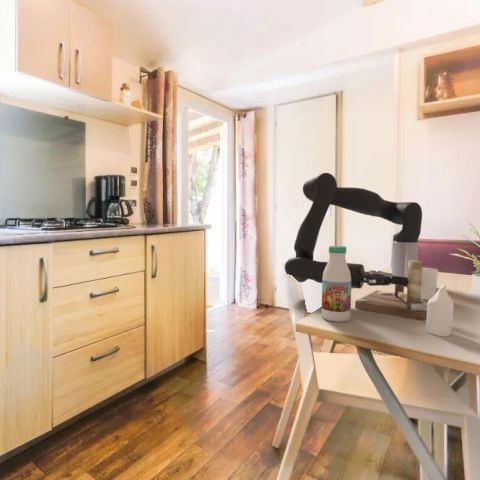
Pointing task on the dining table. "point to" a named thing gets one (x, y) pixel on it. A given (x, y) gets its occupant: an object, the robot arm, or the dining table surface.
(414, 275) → the hinged leg
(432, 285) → the white cup
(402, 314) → the stool seat
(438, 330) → the white pointed cylinder
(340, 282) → the milk bottle
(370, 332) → the dining table surface
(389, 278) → the robot arm
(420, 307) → the corner bracket
